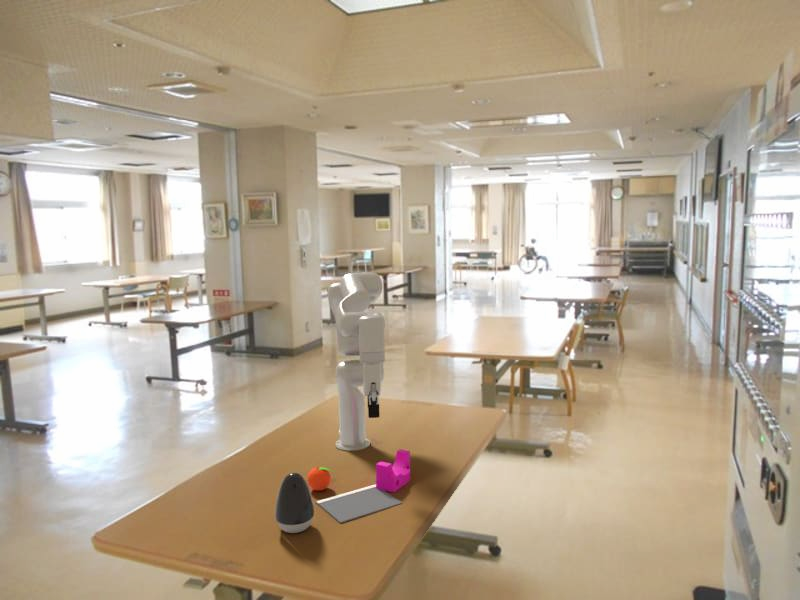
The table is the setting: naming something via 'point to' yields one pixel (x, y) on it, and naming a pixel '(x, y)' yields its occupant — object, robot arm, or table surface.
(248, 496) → the table surface
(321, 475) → the clementine
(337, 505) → the mat
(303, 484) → the dark grey rounded cone
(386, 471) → the toy block
